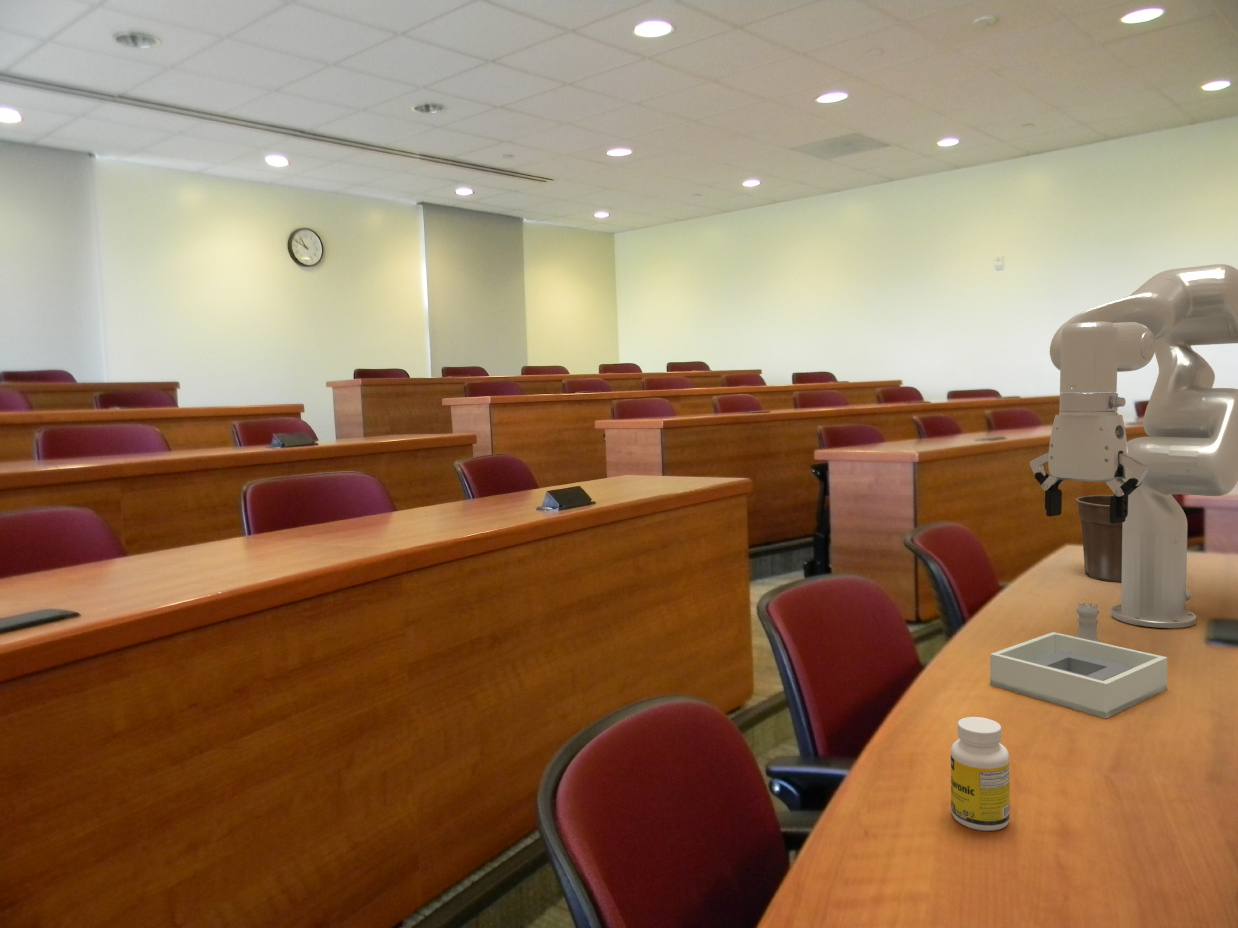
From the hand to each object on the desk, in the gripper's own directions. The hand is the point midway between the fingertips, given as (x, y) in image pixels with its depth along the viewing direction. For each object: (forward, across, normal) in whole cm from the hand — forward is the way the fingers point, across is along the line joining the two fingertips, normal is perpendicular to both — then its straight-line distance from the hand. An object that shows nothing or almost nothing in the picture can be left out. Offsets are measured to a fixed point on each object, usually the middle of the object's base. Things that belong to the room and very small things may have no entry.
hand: (1084, 518), depth 132 cm
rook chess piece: (+21, 0, -1) cm, 21 cm away
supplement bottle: (+23, -20, +55) cm, 63 cm away
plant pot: (+20, +22, -55) cm, 62 cm away
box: (+22, -6, +13) cm, 26 cm away
